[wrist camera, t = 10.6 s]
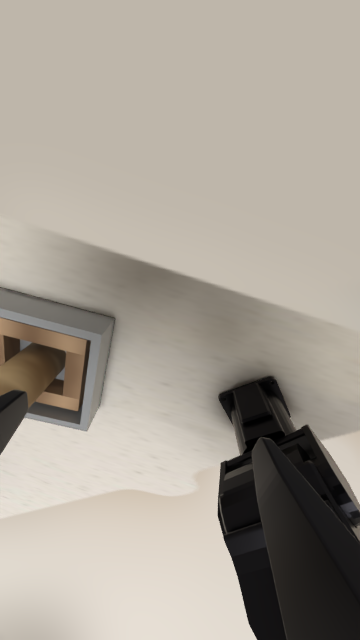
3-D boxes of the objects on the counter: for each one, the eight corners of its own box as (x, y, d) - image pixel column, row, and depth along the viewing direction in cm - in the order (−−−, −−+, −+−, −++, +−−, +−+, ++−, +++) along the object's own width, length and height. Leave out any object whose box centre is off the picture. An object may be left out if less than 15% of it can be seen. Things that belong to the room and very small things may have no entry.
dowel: (74, 366, 22) (-34, 500, 11) (41, 375, 23) (-91, 509, 12) (54, 334, 21) (-91, 452, 10) (20, 344, 22) (-153, 466, 10)
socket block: (95, 330, 21) (86, 340, 19) (86, 397, 24) (78, 411, 22) (0, 305, 20) (-19, 312, 18) (5, 378, 23) (-10, 391, 22)
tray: (115, 318, 21) (101, 334, 17) (99, 405, 25) (86, 431, 22) (-12, 283, 20) (-51, 295, 16) (-4, 381, 24) (-32, 404, 21)
